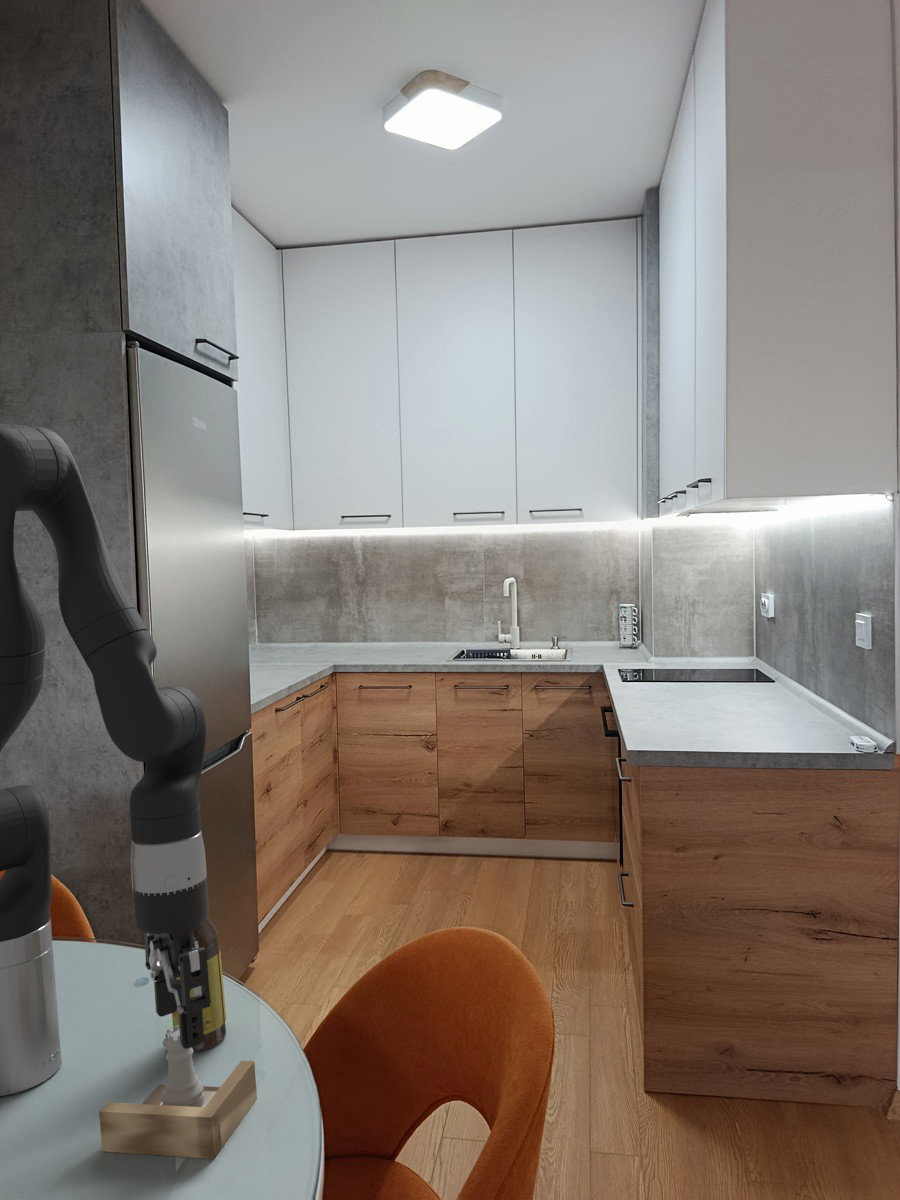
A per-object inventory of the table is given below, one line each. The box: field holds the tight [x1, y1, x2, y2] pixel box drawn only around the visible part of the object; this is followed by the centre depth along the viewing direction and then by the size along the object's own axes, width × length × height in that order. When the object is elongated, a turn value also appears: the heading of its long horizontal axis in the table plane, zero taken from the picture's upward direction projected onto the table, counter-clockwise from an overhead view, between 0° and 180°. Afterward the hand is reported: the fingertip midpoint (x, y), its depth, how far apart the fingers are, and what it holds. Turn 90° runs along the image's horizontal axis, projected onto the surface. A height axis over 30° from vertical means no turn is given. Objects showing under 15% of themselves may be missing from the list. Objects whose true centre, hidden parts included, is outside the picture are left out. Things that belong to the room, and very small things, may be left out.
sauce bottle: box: [171, 916, 227, 1052], centre depth 105 cm, size 6×6×20 cm
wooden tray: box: [98, 1060, 258, 1160], centre depth 89 cm, size 12×11×4 cm
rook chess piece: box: [161, 1026, 205, 1107], centre depth 90 cm, size 4×4×8 cm
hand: (179, 1028), depth 91 cm, fingers open, 8 cm apart
